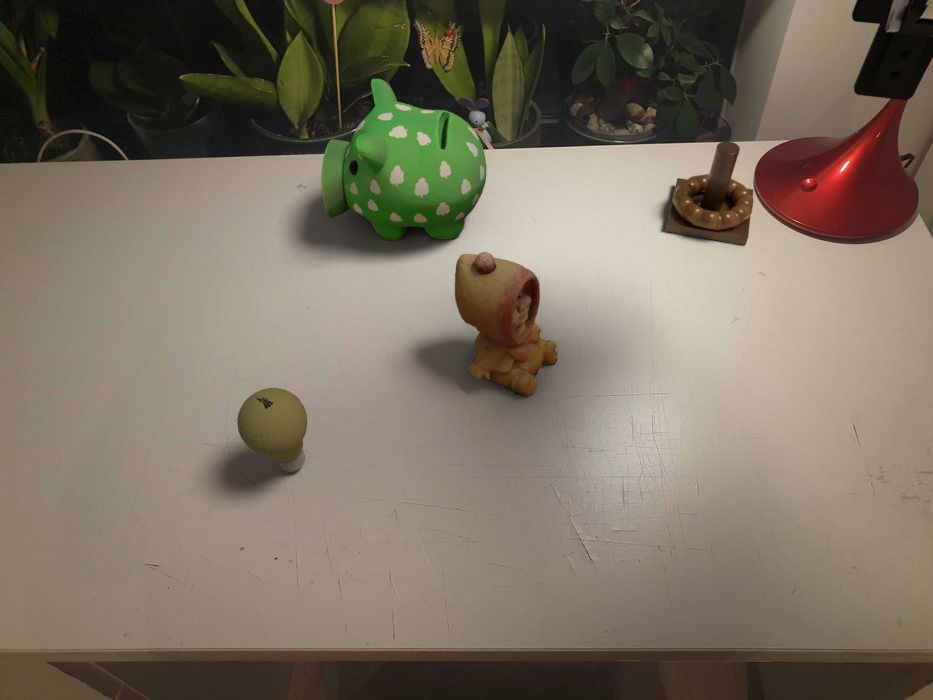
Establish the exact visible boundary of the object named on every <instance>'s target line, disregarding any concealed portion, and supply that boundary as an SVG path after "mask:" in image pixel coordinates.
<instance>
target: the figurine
mask: <svg viewBox="0 0 933 700" xmlns="http://www.w3.org/2000/svg"><path fill="white" fill-rule="evenodd" d="M540 286H541V285H540V281H539V278H538V276H537V275H536V274H535V273H534V272H533V271H532V270H530V269H529V268H527V267H525V266H523V265H522V264H520V263H517V262H516V261H511V260H508V259H503V258H499V257H495V256H494V255H493V254H491V253H490V252H487V251H482V252H479V253H478V254H474V253H463V254H460V256H459V257H458V259H457V261H456V265H455V273H454V299H455V305H456V308H457V311H458V313H459V316H460V317H461V319H462V320H463V322H464V323H465V324H467V325H470V326H472V327H474V328H475V329H476V330H477V331H478V334H477V335H476V337H475V339H474V343H473V352H474V361H473V362H472V363H471V364H468V365H467V366H466V368H465V369H466V371H467V374H468V375H469V377H471V378H473V379H478V380H480V379H482V378H483V379H486V380H489V381H490V382H491V383H493V384H494V385H497V386H499V387H503V388H504V389H506V390H509V391H511V392H513V393H514V395H515V396H519V397H521V398H523V397H530V396H533V394H534V393H535V391H536V389H537V386H538V385H537V381H536V379H535V378H534V377H535V376H537V375H538V372H539V371H540V369H541V368H542V366H543V365H555V364H556V363H557V362H558V351H557V350H556V349H557V343H556V342H555V341H554V340H551V339H546V338H542V337H541V331H542V329H541V327H540V326H539V325H538V324H537V323H535V322H536V318H537V317H538V312H539V308H540V301H541V299H540V298H541V288H540Z"/></svg>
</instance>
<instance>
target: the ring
mask: <svg viewBox="0 0 933 700" xmlns="http://www.w3.org/2000/svg"><path fill="white" fill-rule="evenodd" d="M708 177H709V173H706V174H699V175H693V176H690V177H688V178H686V179H687V180H685V181H684V182H682V183H681V184H679V185H678V186H677V188H676V191H675V194H674V193H673V195H674V198H673V197H672V199H673V204H674V206H675V208H676V210H677V212H678V213H679V215H680V216H681V217H682V218H683V219H685V220H687V221H688V222H690V223H692V224H693V225H695V226H697V227H702V228H707V229H713V230H721V229H727V228H733V227H736V226H738V225H739V224H741V223H742V222H744V221H745V220H746V219H748V218H749V217H750V215H752V213H753V207H754V196H753V197H752V196H751V194H750V193H749V191H748V190H747V189H748V188H747V187H746V186H745V185H744V184H743V183H741V182H739V181H737V180H735V179H733V178H731V180H730V183H729V186H728V190H727V193H726V197H728V198H730V199H731V200H732V202H733V203H734V207H733V208H732V209H730V210H727V211H721V212H716V211H710V210H704V209H703V208H701V207H699V206H697V205H696V204H694V202H693V201H692V196H693V195H695V194H696V193H700V192H704V191H705V187H706V184H707V180H708ZM746 188H747V189H746Z"/></svg>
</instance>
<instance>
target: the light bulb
mask: <svg viewBox="0 0 933 700" xmlns="http://www.w3.org/2000/svg"><path fill="white" fill-rule="evenodd" d="M236 421H237V423H236V424H237V431H238V434H239V437H240V439H241V440H242V442H243V443H244V444H245V445H246V447H248V448H249V449H250V450H252V451H253V452H254V453H256V454H259V455H261V456H266V457H270V458H271V459H272V460H274V461H276V463H277V464H278V466H279V468H280V469H281V470H282V471H284V472H287V473H293V472H295V471H299V469H301V468H302V466H304V464H305V462H306V454H305V452H304V450H303V447H304V438H305V436H306V433H307V429H308V413H307V409H306V408H305V406H304V404H303V403H302V401H301V399H300V398H299V397H297V395H296V394H294V393H293V392H291V391H289V390H286V389H285V388H278V387H269V388H268V387H266V388H263V389H260V390H258V391H256V392H254V393H252V394H251V395H249V396H248V397H247V398H246V399H245V400H244V401H243V403H242V405H241V407H240V408H239V411H238V414H237V420H236Z"/></svg>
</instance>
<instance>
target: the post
mask: <svg viewBox="0 0 933 700" xmlns="http://www.w3.org/2000/svg"><path fill="white" fill-rule="evenodd" d="M740 149H741V148H740V146H739V145H738V144H737V143H736V142H733V141H726V140H725V141H721V142H719V143H717V145H716V148H715V151H714V155H713V159H712V162H711V166H710V170H709V173H708V174H709V177H708V180H707V184H706V187H705V191H704V192H700V193H696V194H695V195H693V196H692V201H693V202H694V204H696V205H697V206H699V207H701V208H703V209H704V210H710V211H716V212H721V211H727V210H730V209H732V208H733V207H734V203H733V202H732V200H731V199H730V198H728V197H726V193H727V190H728V186H729V183H730V180H731V179H732V176H733V173H734V170H735V166H736V164H737V160H738V157H739V154H740V151H741V150H740ZM687 179H688V178H681V177H677V178H676V182H675V186H674V191H673V195H672V200H671V204H670V208H669V213H668V217H667V221H666V226H665V232H667V233H672V234H679V235H684V236H689V237H694V238H701V239H707V240H711V241H712V240H714V241H718V242H725V243H731V244H736V245H742V246H746V245H747V242H748V240H749V235H750V226H751V218H752V217H751V215H752V214H751V215H750V217H749V218H748V219H746V220H745V221H744V222H742V223H741V224H739V225H738V226H736V227H733V228H727V229H721V230H713V229H707V228H702V227H697V226H695V225H693V224H692V223H690V222H688V221H687V220H685V219H683V218H682V217H681V216H680V215H679V213H678V212H677V210H676V208H675V206H674V204H673V198H674V194H675V191H676V188H677V186H678V185H679V184H681V183H682V182H684V181H685V180H687ZM746 189H747V190H748V191H749V193H750V194H751V196H752V197H753V198H754V188H747V187H746Z"/></svg>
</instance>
